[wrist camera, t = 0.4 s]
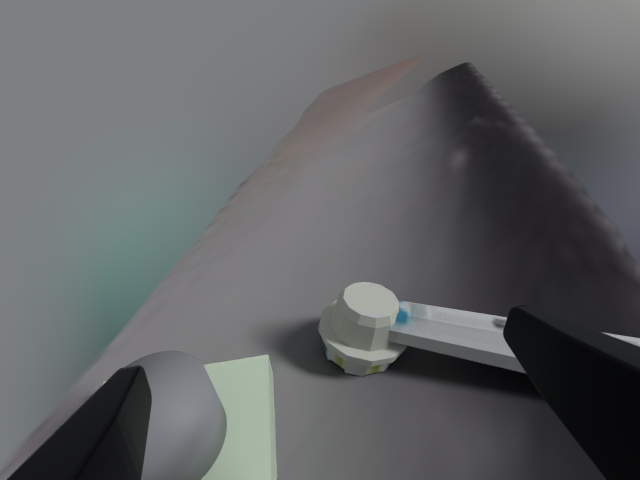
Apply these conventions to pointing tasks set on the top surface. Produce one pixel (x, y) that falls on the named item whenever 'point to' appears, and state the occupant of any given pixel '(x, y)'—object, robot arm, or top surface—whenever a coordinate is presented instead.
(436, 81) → the top surface
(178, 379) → the pale green framed piece
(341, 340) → the flat bar with knob
